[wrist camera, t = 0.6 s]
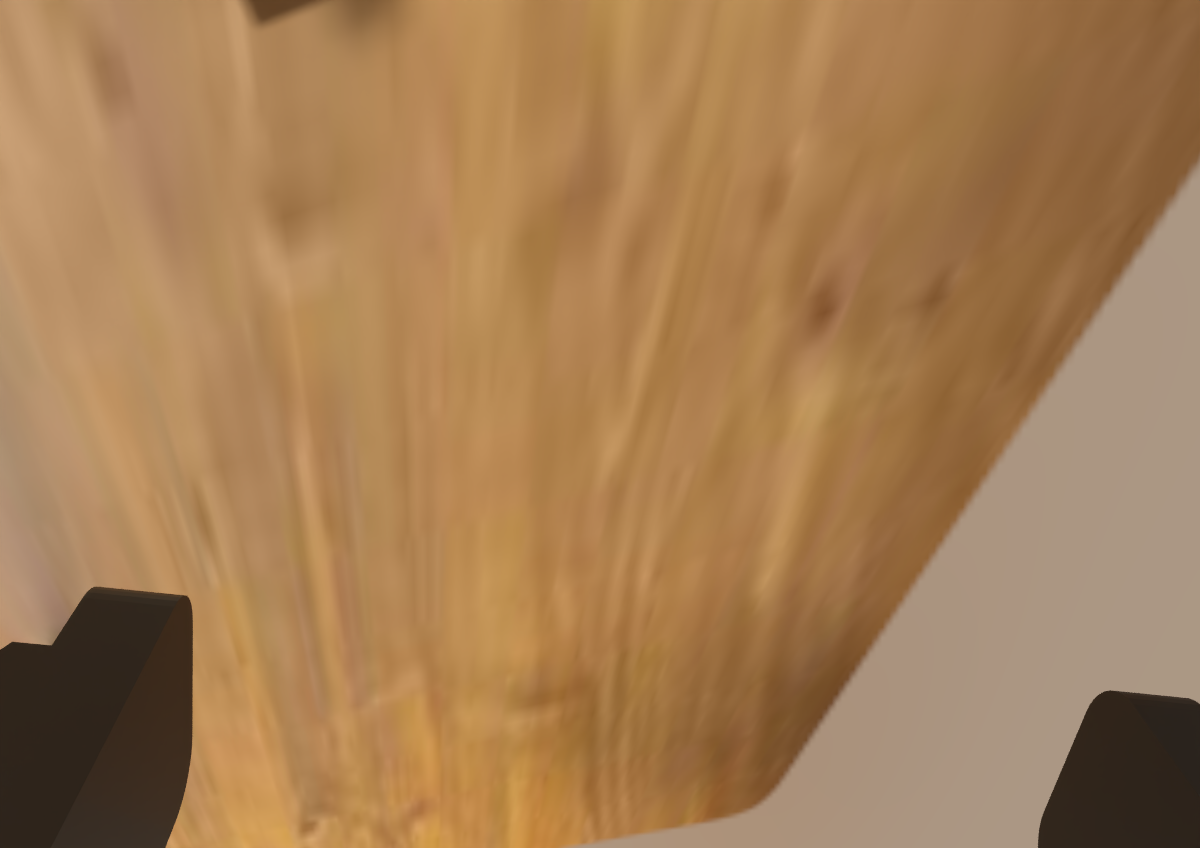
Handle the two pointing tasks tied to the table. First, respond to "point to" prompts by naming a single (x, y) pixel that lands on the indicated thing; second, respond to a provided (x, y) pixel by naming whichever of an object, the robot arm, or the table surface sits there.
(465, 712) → the table surface
